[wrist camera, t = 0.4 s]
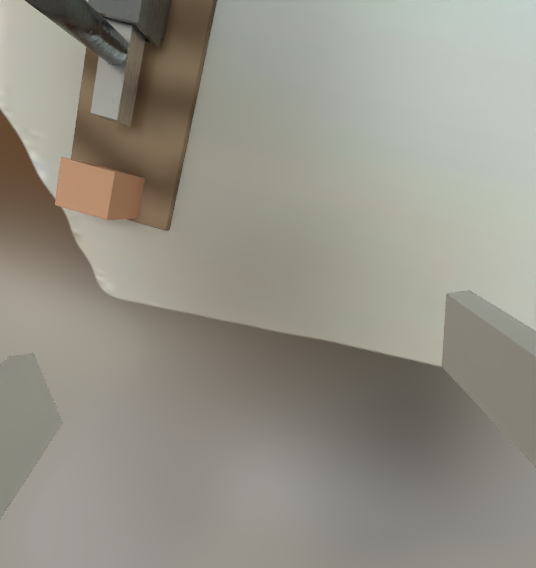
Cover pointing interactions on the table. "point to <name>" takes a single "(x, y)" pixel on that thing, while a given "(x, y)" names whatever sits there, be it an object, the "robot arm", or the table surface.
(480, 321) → the robot arm
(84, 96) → the base board
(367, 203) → the table surface
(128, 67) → the sliding bolt
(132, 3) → the outer sleeve
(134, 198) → the socket block
